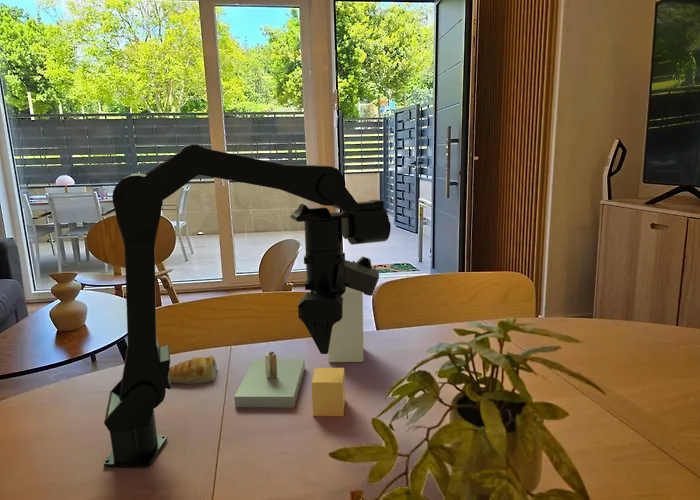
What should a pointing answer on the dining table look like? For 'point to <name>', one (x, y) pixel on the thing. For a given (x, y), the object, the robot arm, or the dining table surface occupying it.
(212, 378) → the pastry
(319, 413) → the small yellow upright block
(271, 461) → the dining table surface
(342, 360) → the milk carton
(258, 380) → the pale green flat slab
